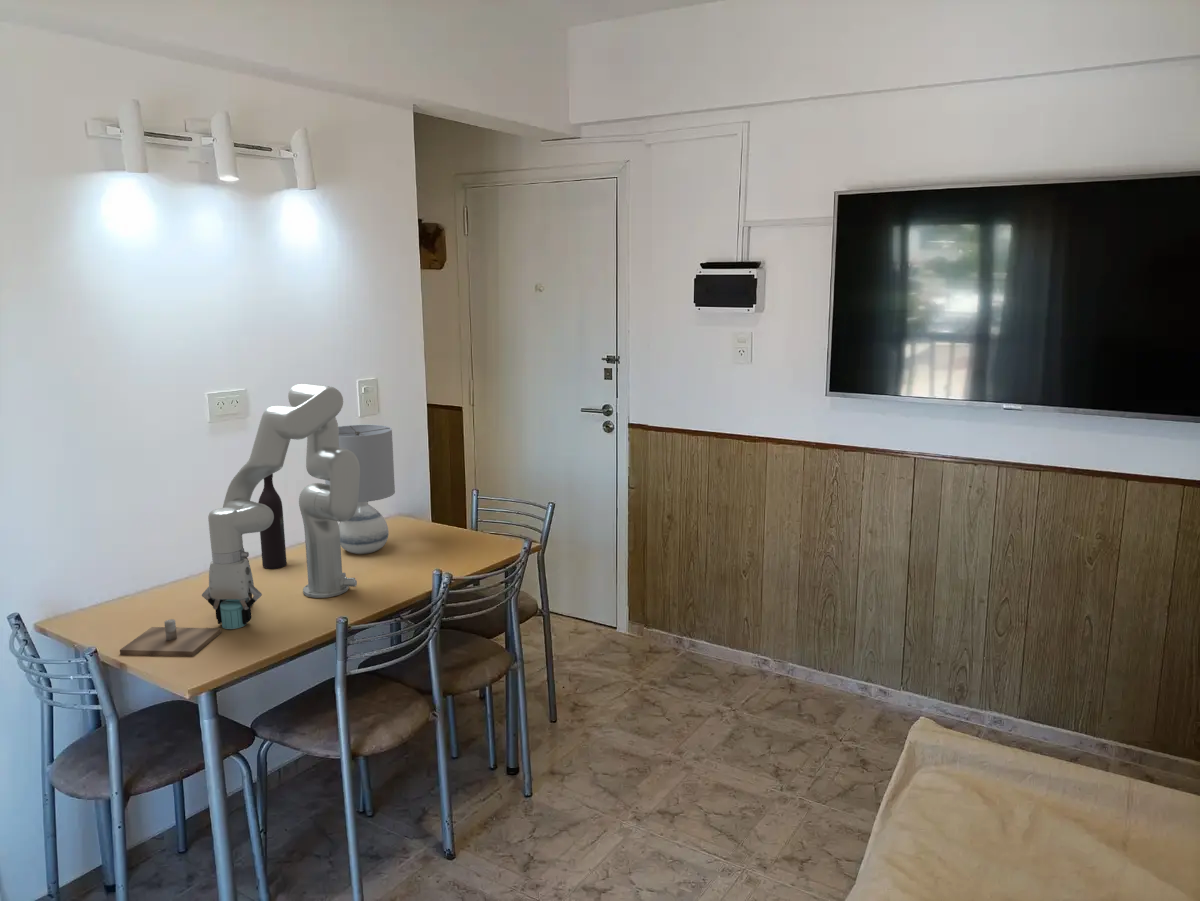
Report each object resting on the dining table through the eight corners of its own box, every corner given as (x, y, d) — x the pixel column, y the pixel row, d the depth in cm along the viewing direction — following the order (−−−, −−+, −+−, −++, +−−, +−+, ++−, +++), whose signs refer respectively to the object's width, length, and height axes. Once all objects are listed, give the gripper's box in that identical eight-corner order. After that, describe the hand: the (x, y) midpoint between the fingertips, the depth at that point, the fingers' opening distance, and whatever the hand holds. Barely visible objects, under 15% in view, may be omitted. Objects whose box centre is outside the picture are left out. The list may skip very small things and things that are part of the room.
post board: (221, 632, 223) (219, 611, 222) (193, 656, 209) (191, 633, 208) (152, 631, 224) (149, 609, 223) (120, 654, 210) (117, 631, 209)
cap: (250, 620, 231) (249, 598, 229) (240, 629, 225) (238, 607, 224) (228, 619, 231) (226, 598, 230) (217, 628, 225) (215, 606, 224)
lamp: (315, 553, 286) (307, 432, 278) (365, 536, 304) (359, 422, 296) (362, 564, 275) (355, 438, 267) (411, 546, 293) (405, 428, 285)
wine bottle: (287, 567, 272) (280, 473, 266) (262, 570, 270) (255, 475, 264) (286, 561, 279) (279, 469, 273) (262, 563, 276) (255, 471, 270)
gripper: (267, 551, 227) (272, 617, 231) (202, 551, 228) (209, 616, 232) (254, 561, 220) (260, 628, 224) (187, 560, 221) (194, 627, 224)
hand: (234, 621), depth 228 cm, fingers closed on cap, 6 cm apart
